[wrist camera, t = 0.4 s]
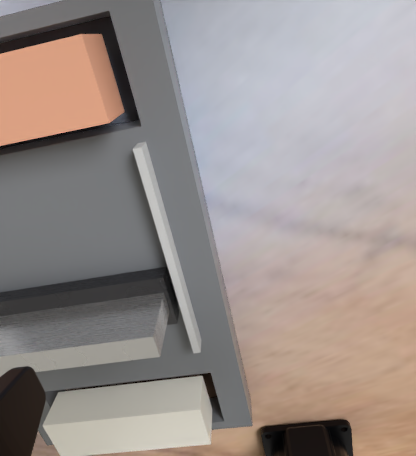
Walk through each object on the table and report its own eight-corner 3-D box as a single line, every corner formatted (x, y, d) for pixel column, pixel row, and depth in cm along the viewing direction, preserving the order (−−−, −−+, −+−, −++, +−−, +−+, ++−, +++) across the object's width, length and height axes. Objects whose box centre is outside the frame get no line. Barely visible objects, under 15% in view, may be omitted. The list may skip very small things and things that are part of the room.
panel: (250, 400, 28) (253, 439, 25) (58, 420, 30) (41, 459, 27) (156, -16, 16) (142, -25, 14) (-145, 61, 18) (-209, 66, 16)
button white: (212, 409, 26) (210, 444, 24) (74, 423, 27) (61, 457, 25) (202, 375, 25) (199, 409, 22) (58, 392, 26) (42, 425, 24)
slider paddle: (179, 311, 21) (169, 370, 18) (15, 334, 23) (-26, 393, 19) (165, 266, 20) (152, 320, 16) (-7, 293, 21) (-57, 348, 18)
